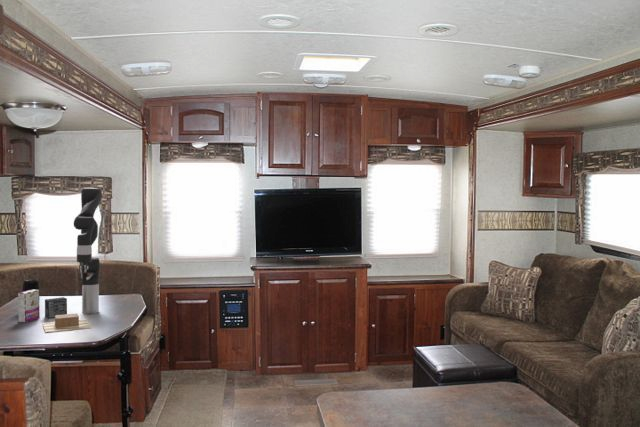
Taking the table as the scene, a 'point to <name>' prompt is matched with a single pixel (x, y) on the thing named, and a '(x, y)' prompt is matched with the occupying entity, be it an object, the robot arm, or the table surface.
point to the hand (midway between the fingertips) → (83, 284)
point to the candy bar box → (28, 305)
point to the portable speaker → (30, 284)
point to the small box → (55, 307)
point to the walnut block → (66, 320)
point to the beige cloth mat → (52, 328)
